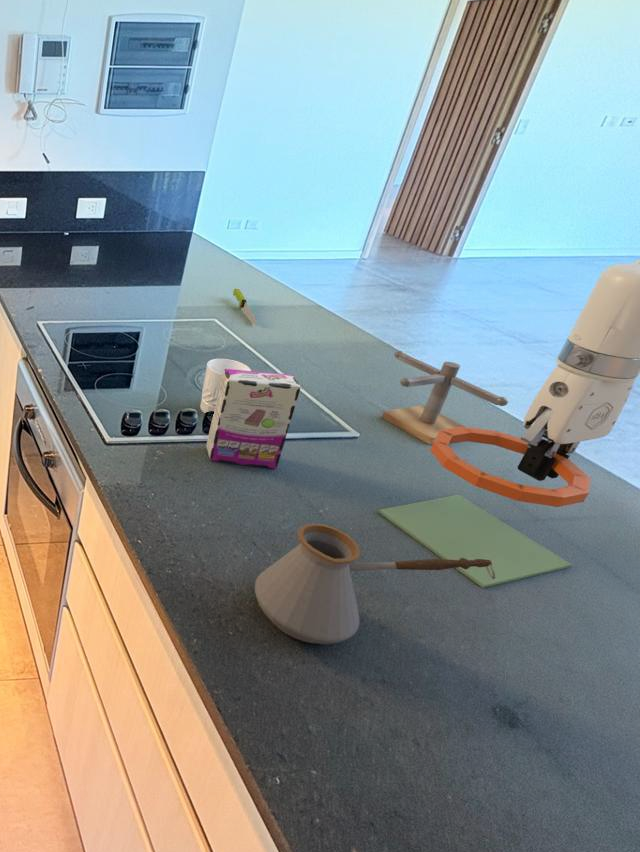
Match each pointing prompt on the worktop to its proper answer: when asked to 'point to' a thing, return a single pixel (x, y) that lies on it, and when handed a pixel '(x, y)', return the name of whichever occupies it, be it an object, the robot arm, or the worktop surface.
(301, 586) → the coffee pot
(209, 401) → the white cup
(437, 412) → the ring stand
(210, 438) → the candy bar box
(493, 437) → the ring
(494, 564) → the mat
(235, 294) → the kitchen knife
